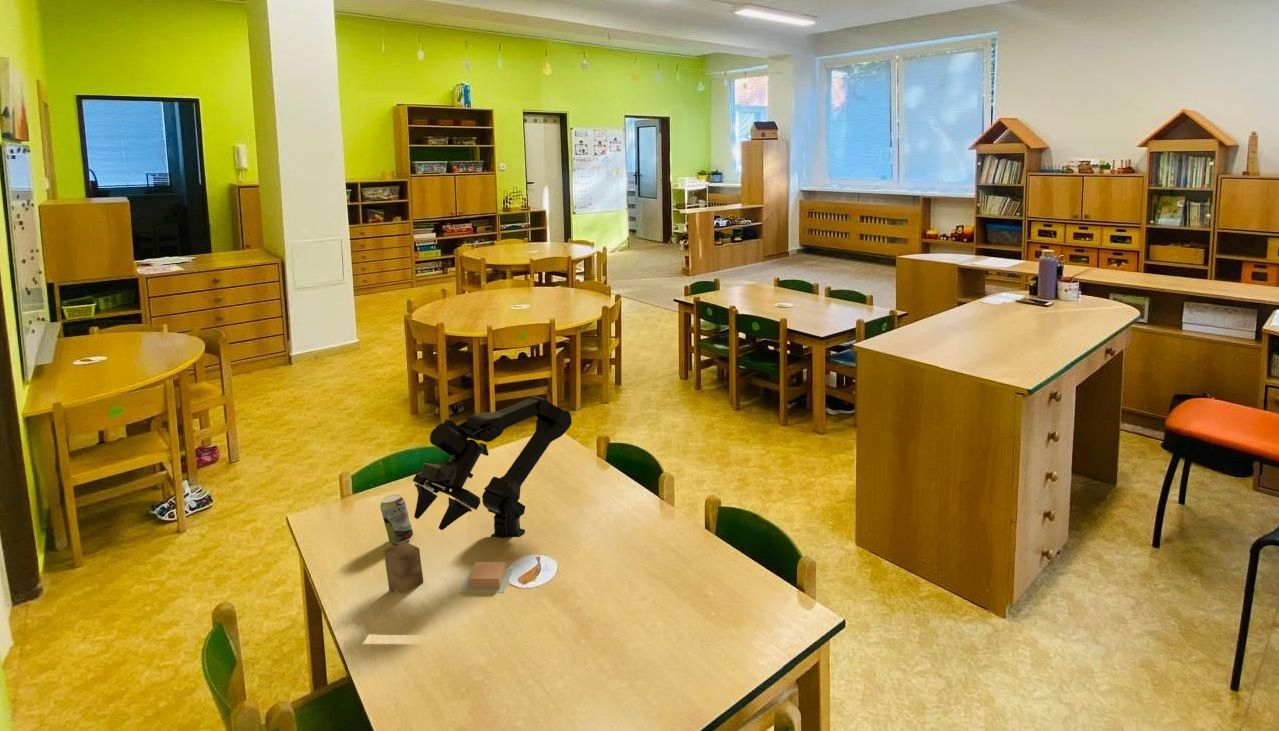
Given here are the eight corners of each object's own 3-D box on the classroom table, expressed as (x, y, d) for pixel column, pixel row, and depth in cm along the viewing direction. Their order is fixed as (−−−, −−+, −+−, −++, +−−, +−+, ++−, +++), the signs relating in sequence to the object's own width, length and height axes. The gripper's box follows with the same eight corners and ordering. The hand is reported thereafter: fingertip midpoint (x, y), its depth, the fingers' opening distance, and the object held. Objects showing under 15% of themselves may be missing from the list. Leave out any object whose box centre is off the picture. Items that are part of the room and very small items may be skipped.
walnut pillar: (409, 579, 178) (404, 541, 176) (424, 587, 175) (419, 548, 172) (389, 590, 174) (383, 551, 172) (403, 598, 171) (398, 558, 168)
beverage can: (406, 547, 193) (401, 504, 189) (380, 545, 194) (374, 502, 191) (418, 535, 199) (413, 493, 195) (392, 533, 200) (386, 491, 197)
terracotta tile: (476, 571, 178) (475, 562, 178) (506, 571, 178) (505, 562, 177) (469, 588, 172) (468, 578, 171) (499, 588, 171) (499, 578, 171)
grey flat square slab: (471, 576, 180) (470, 568, 180) (513, 576, 180) (513, 568, 179) (460, 600, 171) (459, 592, 170) (504, 600, 170) (503, 592, 170)
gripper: (414, 440, 182) (379, 499, 176) (465, 458, 170) (429, 522, 165) (445, 460, 190) (412, 517, 184) (495, 478, 178) (462, 540, 173)
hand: (427, 523), depth 177 cm, fingers open, 9 cm apart
